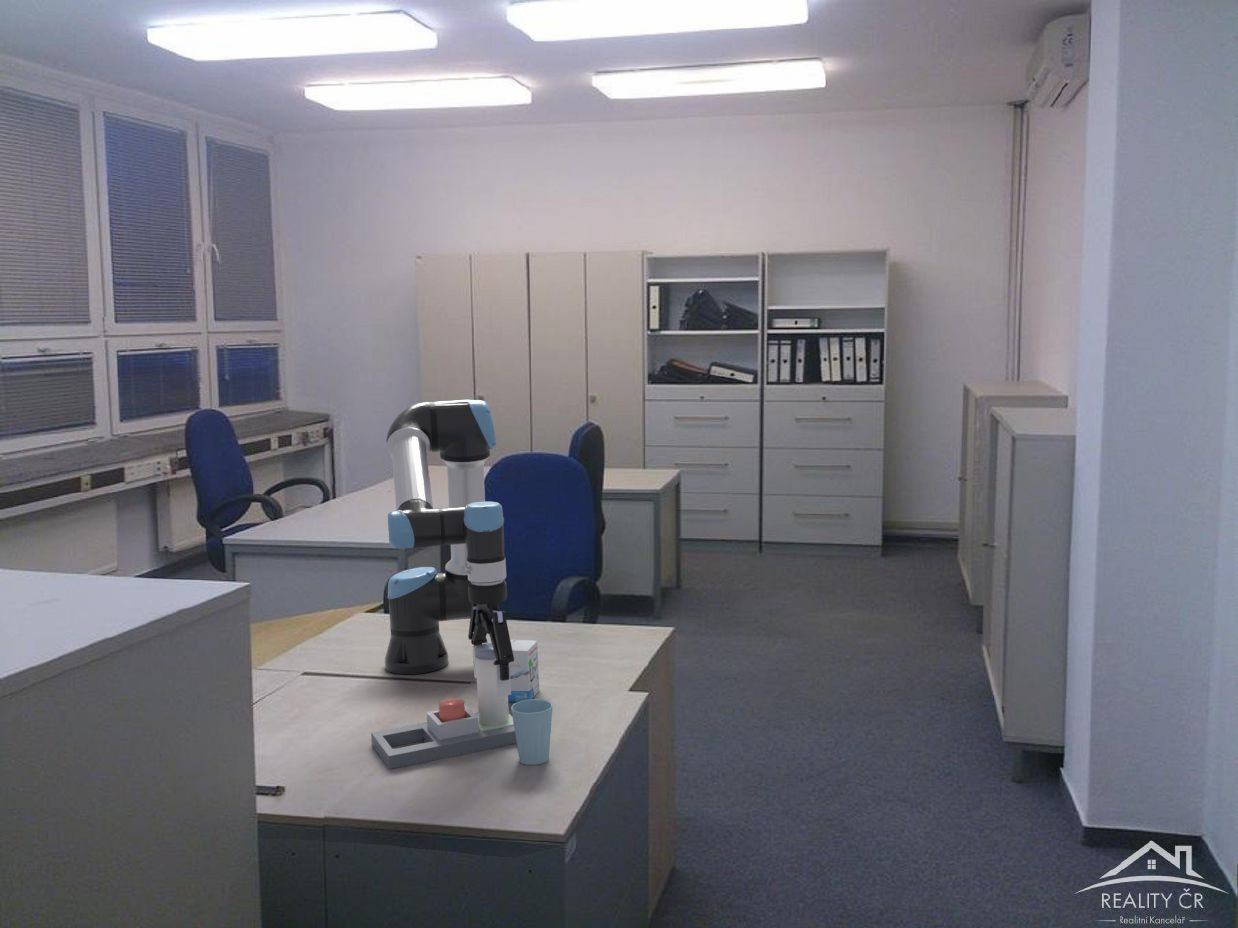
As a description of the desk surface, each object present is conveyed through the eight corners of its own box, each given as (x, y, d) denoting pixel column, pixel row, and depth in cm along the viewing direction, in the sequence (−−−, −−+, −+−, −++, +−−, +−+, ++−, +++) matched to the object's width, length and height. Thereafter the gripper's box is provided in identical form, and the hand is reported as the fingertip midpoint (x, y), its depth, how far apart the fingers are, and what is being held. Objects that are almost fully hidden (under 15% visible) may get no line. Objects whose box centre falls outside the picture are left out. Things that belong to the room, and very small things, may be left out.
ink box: (529, 703, 238) (527, 650, 236) (492, 701, 240) (489, 649, 238) (540, 690, 246) (538, 639, 245) (503, 688, 248) (501, 638, 246)
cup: (505, 759, 207) (503, 705, 206) (538, 748, 212) (536, 696, 210) (529, 770, 201) (526, 715, 200) (562, 759, 206) (560, 705, 205)
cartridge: (474, 718, 221) (470, 646, 220) (503, 712, 224) (499, 641, 222) (484, 728, 216) (480, 653, 214) (513, 722, 219) (510, 649, 217)
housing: (371, 744, 217) (370, 717, 216) (501, 719, 228) (500, 693, 228) (389, 768, 204) (387, 740, 203) (525, 740, 216) (524, 713, 215)
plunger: (436, 725, 217) (435, 701, 217) (461, 721, 220) (459, 697, 219) (444, 733, 213) (442, 708, 212) (469, 729, 215) (467, 704, 214)
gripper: (449, 571, 226) (455, 671, 229) (489, 596, 204) (495, 707, 206) (484, 567, 229) (489, 666, 232) (527, 591, 207) (532, 700, 210)
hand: (492, 685), depth 219 cm, fingers open, 13 cm apart
